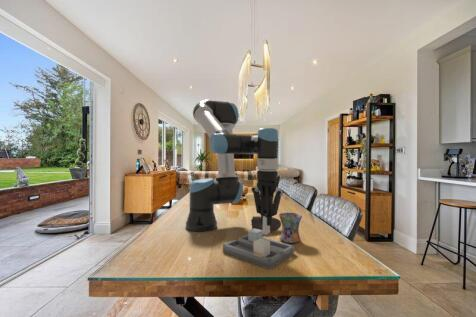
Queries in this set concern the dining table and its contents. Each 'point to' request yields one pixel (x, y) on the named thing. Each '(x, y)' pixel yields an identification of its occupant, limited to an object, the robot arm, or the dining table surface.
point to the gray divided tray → (245, 252)
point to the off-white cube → (261, 247)
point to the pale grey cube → (255, 234)
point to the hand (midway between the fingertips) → (266, 233)
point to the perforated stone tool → (257, 224)
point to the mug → (290, 227)
